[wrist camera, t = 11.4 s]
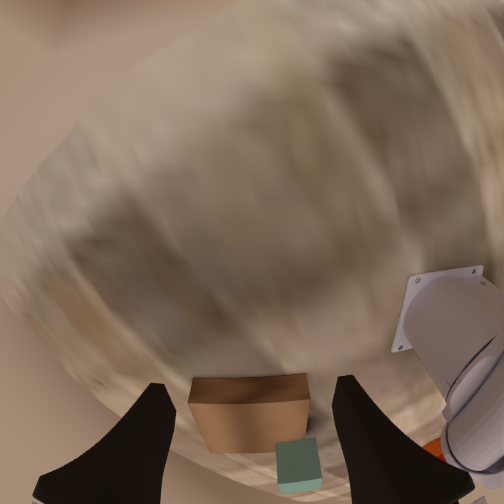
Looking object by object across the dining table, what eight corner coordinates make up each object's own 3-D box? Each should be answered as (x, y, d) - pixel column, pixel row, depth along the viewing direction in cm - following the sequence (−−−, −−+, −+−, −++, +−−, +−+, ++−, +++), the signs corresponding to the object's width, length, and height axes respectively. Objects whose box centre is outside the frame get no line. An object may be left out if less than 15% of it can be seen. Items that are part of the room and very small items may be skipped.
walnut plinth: (305, 373, 22) (310, 399, 19) (300, 428, 26) (302, 449, 23) (193, 378, 22) (187, 403, 20) (212, 431, 26) (209, 452, 23)
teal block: (315, 437, 22) (322, 478, 17) (315, 452, 23) (320, 488, 19) (275, 442, 22) (277, 484, 17) (279, 457, 24) (281, 493, 19)
